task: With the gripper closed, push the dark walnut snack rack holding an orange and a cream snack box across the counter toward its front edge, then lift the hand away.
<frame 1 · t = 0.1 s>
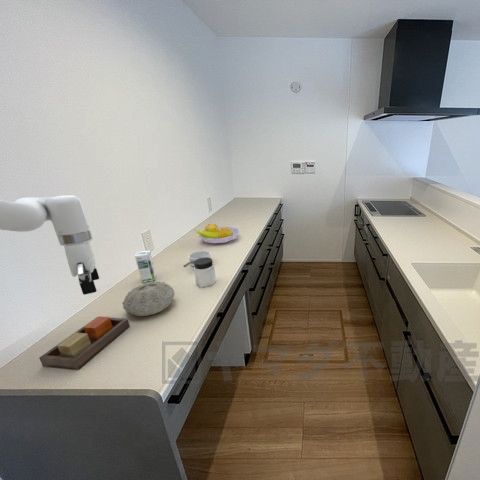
hand: (91, 286, 85), 20 cm above the table, tool pointing down, fingers open, 9 cm apart
saucepan: (196, 267, 145), on the table
snack rack: (90, 344, 89), on the table
decorative shell: (152, 308, 109), on the table
syrup box: (149, 279, 131), on the table
fruit bowl: (218, 240, 183), on the table
jar: (206, 283, 128), on the table
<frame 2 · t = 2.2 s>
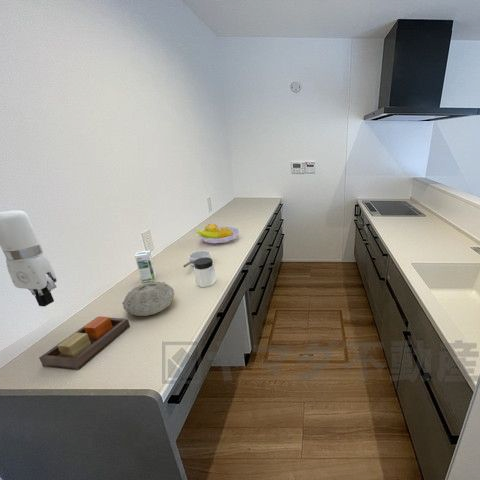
hand: (47, 303, 85), 15 cm above the table, tool pointing down, fingers closed
nothing on the table moved.
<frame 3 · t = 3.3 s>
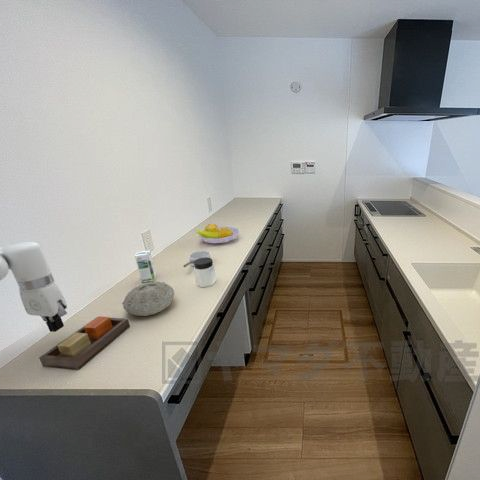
hand: (57, 328, 88), 5 cm above the table, tool pointing down, fingers closed
nothing on the table moved.
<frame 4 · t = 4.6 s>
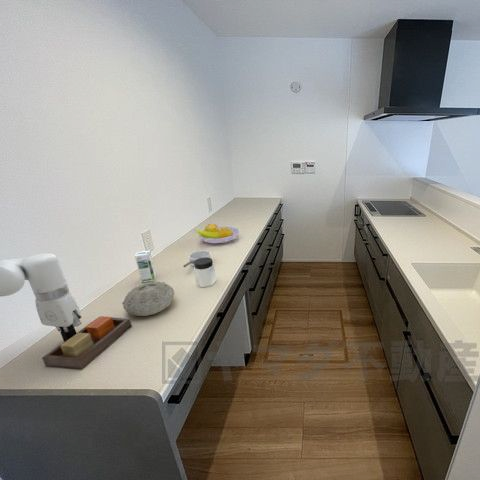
hand: (70, 338, 89), 2 cm above the table, tool pointing down, fingers closed
snack rack: (93, 344, 89), on the table, touching gripper
everything else where it was.
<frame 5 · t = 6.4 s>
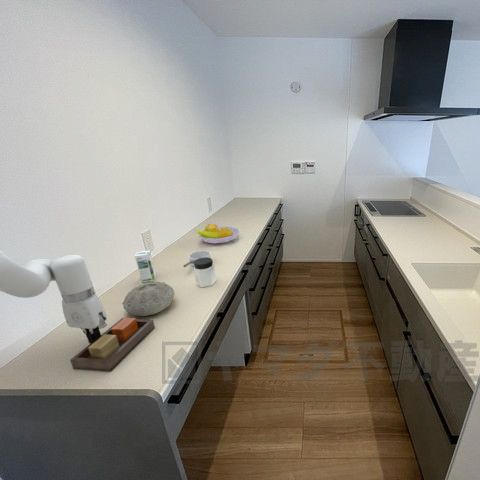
hand: (95, 340, 88), 2 cm above the table, tool pointing down, fingers closed
snack rack: (118, 346, 88), on the table, touching gripper
everything else where it was.
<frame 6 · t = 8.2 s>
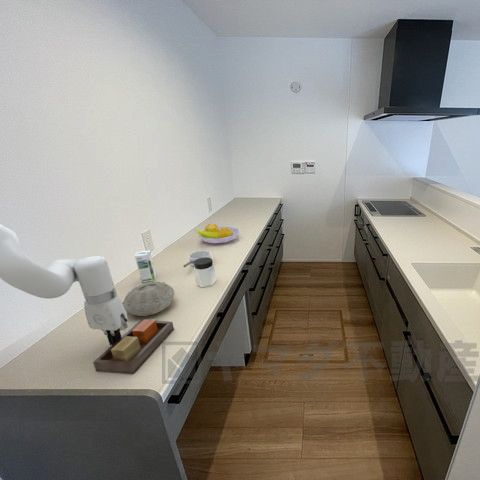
hand: (116, 342, 88), 2 cm above the table, tool pointing down, fingers closed
snack rack: (139, 348, 88), on the table, touching gripper
everything else where it was.
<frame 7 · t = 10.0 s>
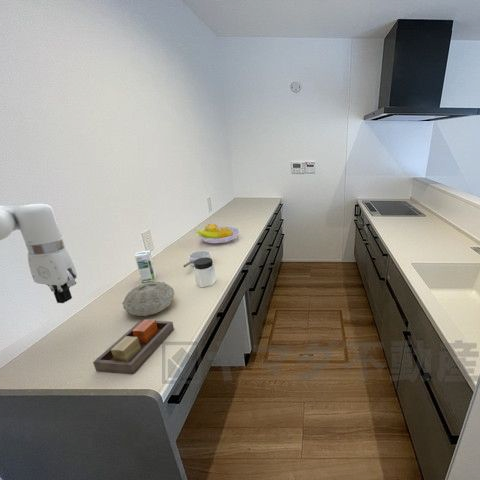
hand: (64, 300, 83), 18 cm above the table, tool pointing down, fingers closed
snack rack: (139, 348, 88), on the table
everything else where it was.
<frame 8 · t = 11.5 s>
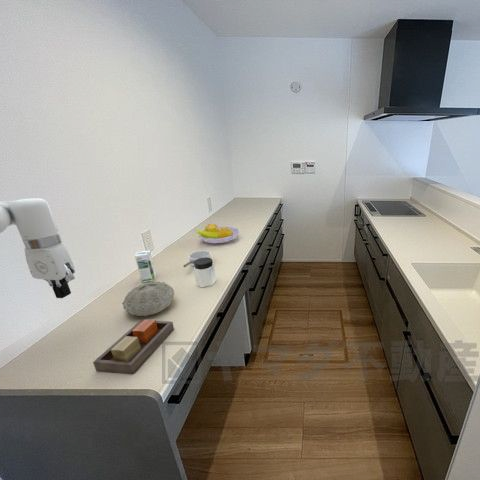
hand: (64, 295, 82), 19 cm above the table, tool pointing down, fingers closed
nothing on the table moved.
at the end: snack rack inside the target area (0.3 cm from its centre), on the table; snack rack moved 17.4 cm from its start; snack rack tilted 0° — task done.
